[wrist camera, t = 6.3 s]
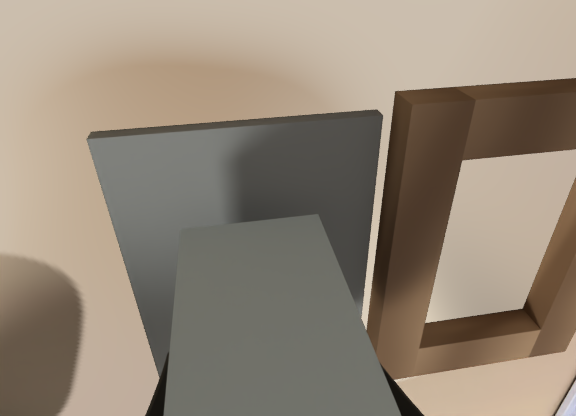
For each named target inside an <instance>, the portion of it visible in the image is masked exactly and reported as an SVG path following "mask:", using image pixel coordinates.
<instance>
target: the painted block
mask: <svg viewBox="0 0 576 416" xmlns="http://www.w3.org/2000/svg"><path fill="white" fill-rule="evenodd" d="M164 416H401V413H400V411H399V409H398V406H397V404H396V401H395V399H394V397H393V394H392V392H391V389H390V387H389V384H388V382H387V380H386V377H385V375H384V372H383V370H382V367H381V365H380V363H379V360H378V358H377V355H376V353H375V351H374V348H373V346H372V343H371V341H370V338H369V336H368V334H367V331H366V329H365V326H364V324H363V321H362V319H361V317H360V314H359V312H358V309H357V307H356V305H355V302H354V300H353V297H352V295H351V292H350V290H349V288H348V285H347V283H346V280H345V278H344V275H343V273H342V271H341V268H340V266H339V263H338V261H337V259H336V256H335V254H334V251H333V249H332V246H331V244H330V242H329V239H328V237H327V234H326V232H325V229H324V227H323V225H322V222H321V220H320V217H319V215H318V214H314V215H305V216H296V217H287V218H278V219H269V220H260V221H251V222H242V223H233V224H224V225H215V226H206V227H197V228H188V229H181V231H180V242H179V253H178V264H177V275H176V285H175V296H174V307H173V318H172V329H171V340H170V351H169V362H168V373H167V384H166V395H165V406H164Z"/></svg>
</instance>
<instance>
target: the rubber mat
mask: <svg viewBox="0 0 576 416" xmlns="http://www.w3.org/2000/svg"><path fill="white" fill-rule="evenodd" d="M382 120H383V115H382V114H381V113H380V112H379V111H378V110H365V111H352V112H339V113H327V114H313V115H302V116H288V117H275V118H263V119H250V120H237V121H226V122H225V121H224V122H212V123H199V124H187V125H173V126H161V127H148V128H135V129H123V130H110V131H97V132H91V133H90V135H89V136H88V138H87V142H88V145H89V149H90V152H91V155H92V159H93V162H94V165H95V168H96V172H97V175H98V178H99V181H100V185H101V188H102V191H103V195H104V198H105V201H106V204H107V207H108V211H109V214H110V217H111V221H112V224H113V227H114V230H115V234H116V237H117V240H118V243H119V247H120V250H121V253H122V256H123V260H124V263H125V266H126V270H127V273H128V276H129V279H130V283H131V286H132V289H133V292H134V296H135V299H136V302H137V306H138V309H139V312H140V316H141V319H142V322H143V325H144V329H145V332H146V335H147V338H148V341H149V345H150V348H151V351H152V355H153V358H154V361H155V365H156V368H157V371H158V374H159V377H160V376H161V373H162V370H163V367H164V364H165V360H166V357H167V353H168V352H169V351H170V340H171V329H172V318H173V307H174V296H175V285H176V275H177V264H178V253H179V242H180V231H181V229H188V228H197V227H206V226H215V225H224V224H233V223H242V222H251V221H260V220H269V219H278V218H287V217H296V216H305V215H314V214H318V215H319V217H320V220H321V222H322V225H323V227H324V229H325V232H326V234H327V237H328V239H329V242H330V244H331V246H332V249H333V251H334V254H335V256H336V259H337V261H338V263H339V266H340V268H341V271H342V273H343V275H344V278H345V280H346V283H347V285H348V288H349V290H350V292H351V295H352V297H353V300H354V302H355V305H356V307H357V309H358V312H359V314H360V317H361V316H362V315H361V314H362V306H363V297H364V288H365V278H366V269H367V260H368V249H369V241H370V232H371V222H372V213H373V204H374V194H375V185H376V176H377V167H378V157H379V148H380V139H381V129H382Z"/></svg>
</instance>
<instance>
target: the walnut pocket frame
mask: <svg viewBox="0 0 576 416" xmlns="http://www.w3.org/2000/svg"><path fill="white" fill-rule="evenodd" d="M572 149H576V78H572V79H558V80H544V81H531V82H517V83H503V84H489V85H476V86H463V87H449V88H434V89H421V90H407V91H396V92H395V98H394V106H393V116H392V123H391V131H390V140H389V148H388V156H387V165H386V173H385V181H384V189H383V198H382V206H381V215H380V223H379V231H378V239H377V249H376V256H375V264H374V273H373V281H372V289H371V298H370V306H369V314H368V323H367V334H368V336H369V338H370V341H371V343H372V346H373V348H374V351H375V353H376V355H377V358H378V360H379V362H380V363H381V365H382V366H383V367H384V369H385V370H386V371H387V372H388V374H389V375H390V376H391V377H392V379H393V380H395V379H401V378H407V377H413V376H419V375H425V374H431V373H437V372H443V371H449V370H455V369H461V368H468V367H474V366H480V365H486V364H492V363H498V362H504V361H510V360H516V359H522V358H528V357H534V356H540V355H546V354H552V353H558V352H565V350H566V349H567V347H568V345H569V343H570V341H571V339H572V337H573V335H574V333H575V331H576V178H575V181H574V183H573V185H572V188H571V190H570V193H569V195H568V198H567V200H566V203H565V205H564V208H563V210H562V213H561V215H560V218H559V220H558V223H557V225H556V228H555V230H554V233H553V235H552V237H551V240H550V242H549V245H548V247H547V250H546V252H545V255H544V257H543V260H542V262H541V265H540V267H539V270H538V272H537V275H536V277H535V280H534V282H533V285H532V287H531V290H530V292H529V295H528V297H527V299H526V302H525V304H524V307H523V309H518V310H511V311H504V312H498V313H491V314H485V315H477V316H471V317H464V318H457V319H451V320H444V321H437V322H430V323H425V320H426V316H427V312H428V307H429V303H430V298H431V294H432V290H433V285H434V280H435V277H436V272H437V267H438V263H439V259H440V255H441V250H442V246H443V242H444V237H445V232H446V229H447V224H448V220H449V215H450V211H451V206H452V202H453V198H454V194H455V189H456V185H457V180H458V176H459V172H460V167H461V163H462V160H470V159H480V158H491V157H501V156H512V155H522V154H531V153H542V152H553V151H563V150H572Z"/></svg>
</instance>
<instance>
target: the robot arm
mask: <svg viewBox="0 0 576 416" xmlns="http://www.w3.org/2000/svg"><path fill="white" fill-rule="evenodd" d="M168 362H169V352H168V353H167V357H166V360H165V364H164V367H163V370H162V373H161V376H160V379H159V382H158V385H157V387H156V390H155V393H154V395H153V398H152V400H151V403H150V406H149V408H148V410H147V413H146V415H145V416H164V406H165V395H166V384H167V373H168ZM379 363H380V362H379ZM380 365H381V363H380ZM381 367H382V370H383V372H384V375H385V377H386V380H387V382H388V384H389V387H390V389H391V392H392V394H393V397H394V399H395V401H396V404H397V406H398V409H399V411H400V413H401V416H424V415H423V414H422V413H421V412H420V410H419V409H418V408H417V407H416V406H415V405H414V404H413V403H412V401H411V400H410V399H409V398H408V397H407V396H406V394H405V393H404V392H403V391H402V390H401V388H400V387H399V386H398V385H397V383H396V382H395V381H394V380H393V379H392V377H391V376H390V375H389V374H388V372H387V371H386V370H385V369H384V367H383V366H382V365H381ZM555 416H576V380H575V382H574V384H573V385H572V387H571V389H570V391H569V392H568V394H567V396H566V398H565V399H564V401H563V403H562V405H561V406H560V408H559V410H558V411H557V413H556V415H555Z"/></svg>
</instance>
